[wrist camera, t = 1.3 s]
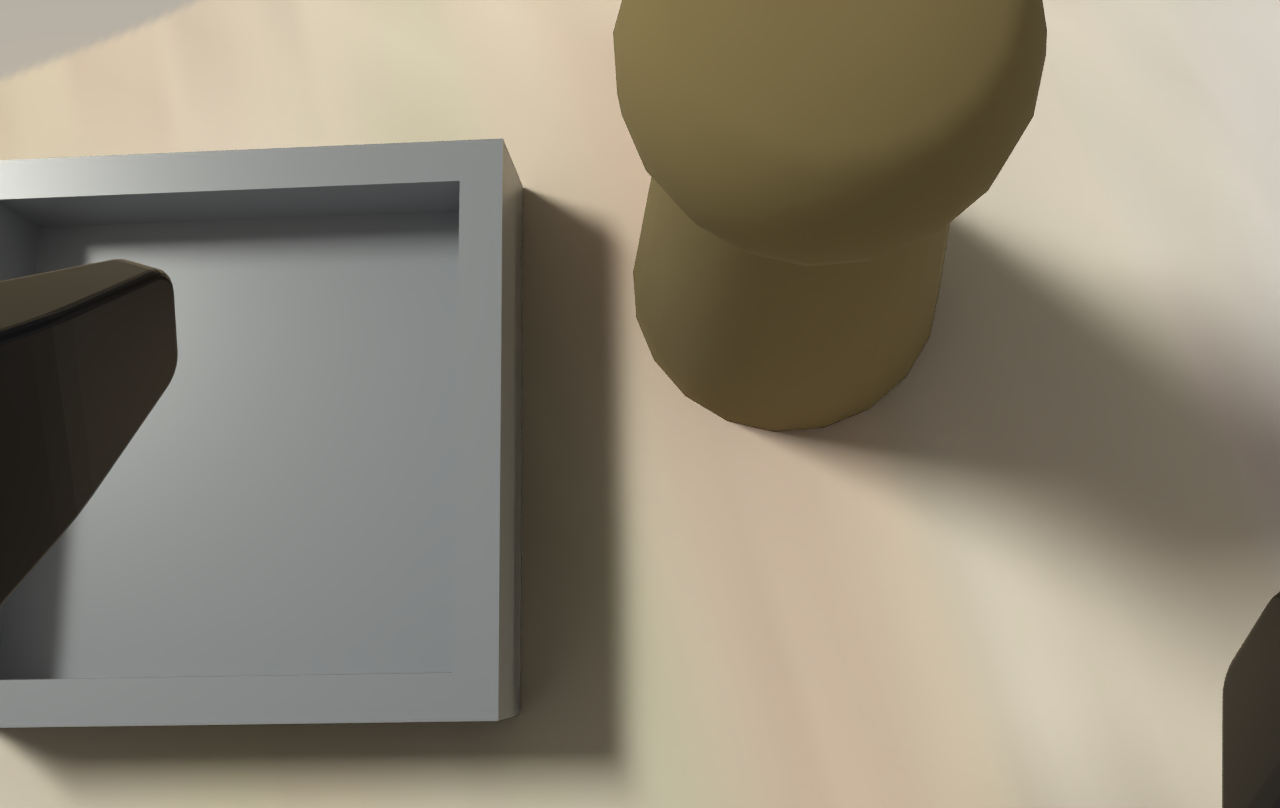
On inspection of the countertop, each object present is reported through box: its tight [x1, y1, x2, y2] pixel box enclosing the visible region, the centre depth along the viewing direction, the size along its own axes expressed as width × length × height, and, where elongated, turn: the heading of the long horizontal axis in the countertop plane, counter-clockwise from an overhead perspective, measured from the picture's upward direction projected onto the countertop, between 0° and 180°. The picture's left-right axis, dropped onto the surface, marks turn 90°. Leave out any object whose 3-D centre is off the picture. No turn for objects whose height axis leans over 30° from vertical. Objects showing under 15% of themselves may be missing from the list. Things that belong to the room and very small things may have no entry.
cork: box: [613, 0, 1047, 431], centre depth 18 cm, size 6×6×11 cm
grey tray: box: [0, 139, 523, 728], centre depth 23 cm, size 10×10×2 cm
